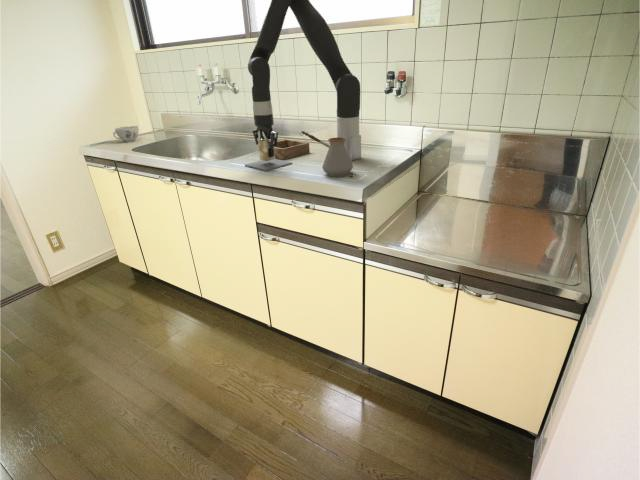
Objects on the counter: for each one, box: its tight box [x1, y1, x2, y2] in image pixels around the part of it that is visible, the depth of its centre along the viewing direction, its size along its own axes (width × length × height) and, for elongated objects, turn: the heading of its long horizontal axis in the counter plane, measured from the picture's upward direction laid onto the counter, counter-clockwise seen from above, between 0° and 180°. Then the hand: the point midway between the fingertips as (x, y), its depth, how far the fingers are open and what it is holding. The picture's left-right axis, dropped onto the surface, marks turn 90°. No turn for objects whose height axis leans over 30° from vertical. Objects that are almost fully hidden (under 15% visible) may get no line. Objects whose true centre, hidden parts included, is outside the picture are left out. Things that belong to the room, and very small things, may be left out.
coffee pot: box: [299, 130, 354, 178], centre depth 141 cm, size 21×12×15 cm, turn 59°
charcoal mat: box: [244, 158, 293, 172], centre depth 158 cm, size 14×14×1 cm
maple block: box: [258, 139, 276, 161], centre depth 156 cm, size 4×4×8 cm
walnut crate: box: [274, 138, 310, 161], centre depth 175 cm, size 16×16×4 cm
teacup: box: [112, 125, 139, 143], centre depth 222 cm, size 15×12×8 cm
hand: (267, 156), depth 157 cm, fingers closed on maple block, 4 cm apart
